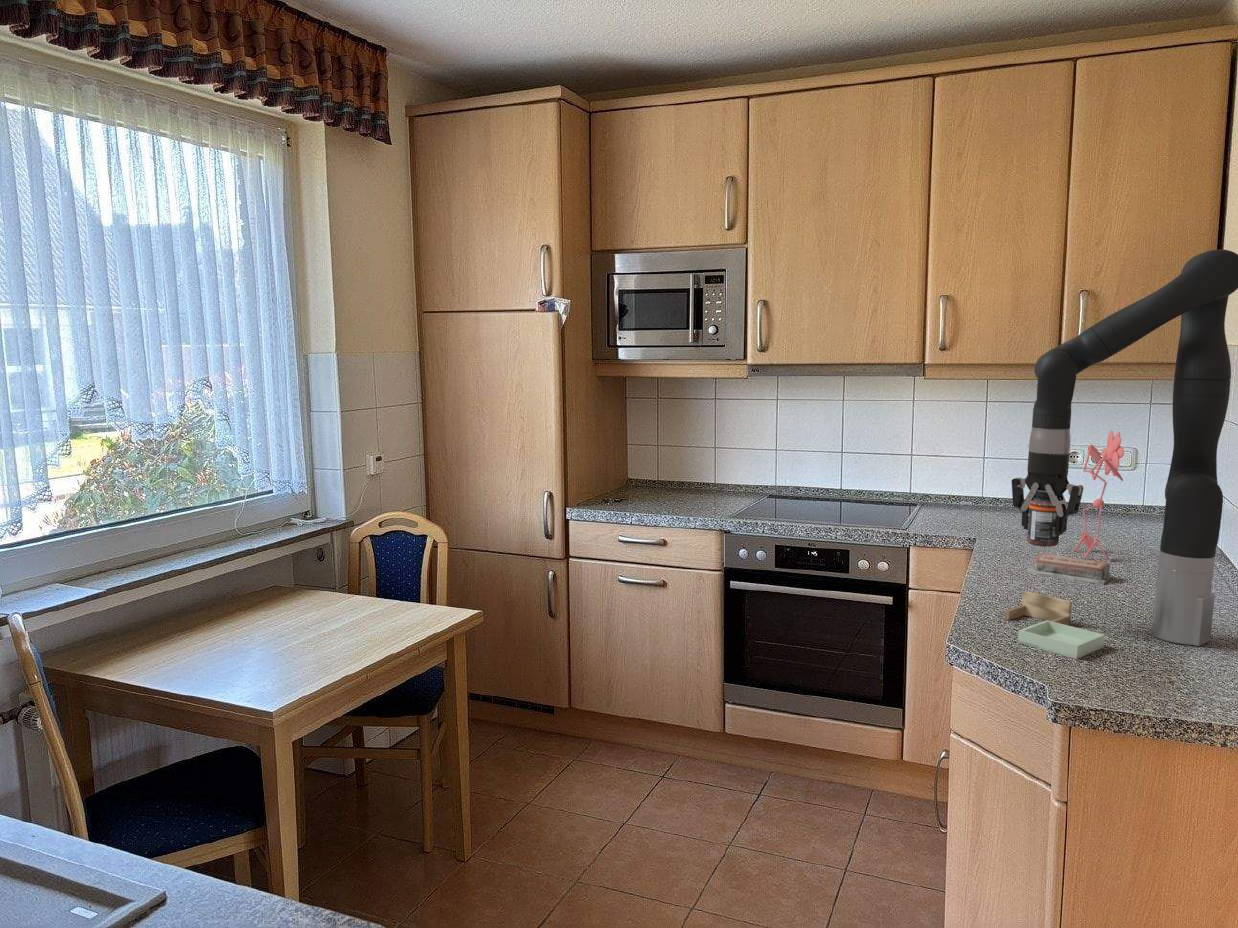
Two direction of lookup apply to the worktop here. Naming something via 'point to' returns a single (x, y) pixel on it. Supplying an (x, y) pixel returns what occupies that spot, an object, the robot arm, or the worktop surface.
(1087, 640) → the sage tray
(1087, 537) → the figurine
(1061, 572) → the packaged product
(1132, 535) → the worktop surface
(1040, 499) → the supplement bottle
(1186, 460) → the robot arm
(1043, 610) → the wooden footstool
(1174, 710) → the worktop surface
